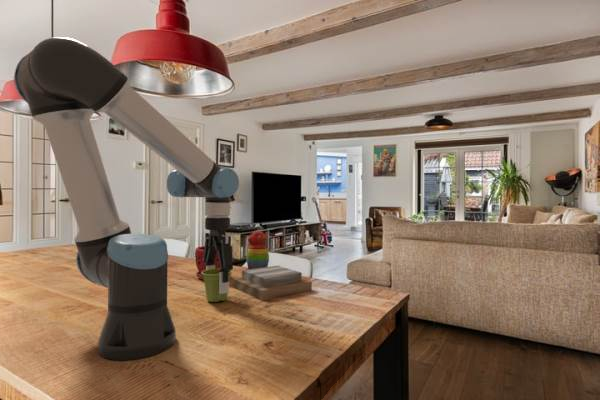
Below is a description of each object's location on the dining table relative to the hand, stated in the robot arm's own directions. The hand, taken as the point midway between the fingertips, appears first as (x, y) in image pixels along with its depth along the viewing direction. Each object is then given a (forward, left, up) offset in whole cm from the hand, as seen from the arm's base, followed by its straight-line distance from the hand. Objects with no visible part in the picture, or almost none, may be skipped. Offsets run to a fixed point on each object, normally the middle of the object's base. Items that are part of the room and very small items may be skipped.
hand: (216, 289), depth 107 cm
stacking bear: (+26, -29, -4) cm, 39 cm away
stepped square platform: (+2, -21, -4) cm, 22 cm away
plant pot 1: (+30, -11, -4) cm, 32 cm away
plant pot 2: (0, 0, -3) cm, 3 cm away
